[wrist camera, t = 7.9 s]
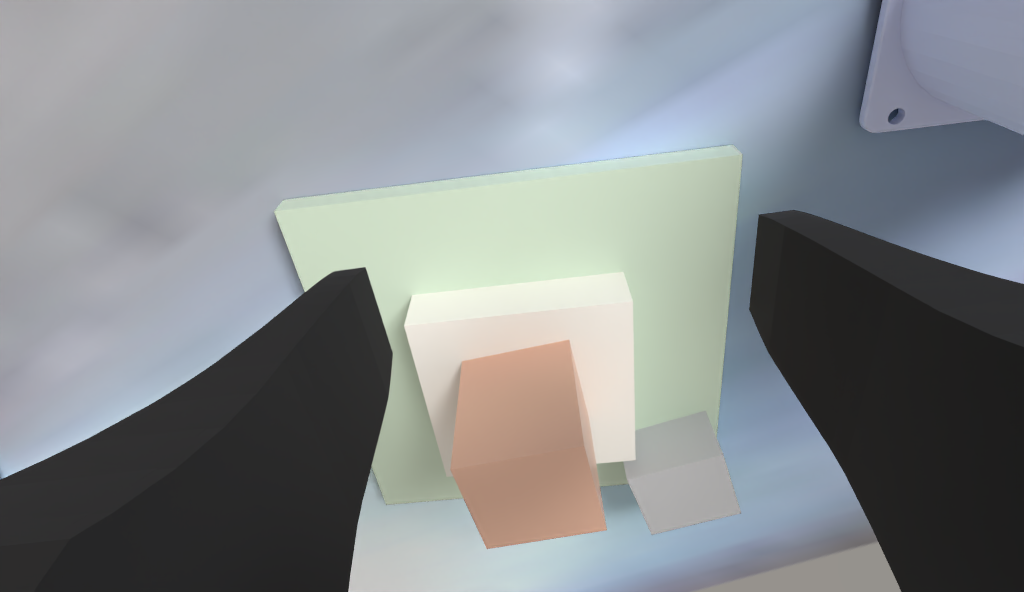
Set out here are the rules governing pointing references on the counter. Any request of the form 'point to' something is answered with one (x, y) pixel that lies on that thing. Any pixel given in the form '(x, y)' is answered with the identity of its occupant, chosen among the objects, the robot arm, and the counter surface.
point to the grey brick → (680, 474)
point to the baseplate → (540, 274)
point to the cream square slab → (528, 323)
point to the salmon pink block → (526, 447)
